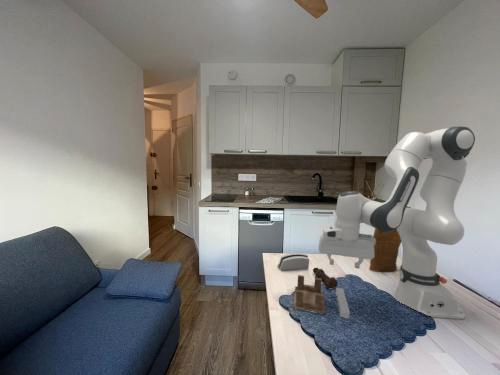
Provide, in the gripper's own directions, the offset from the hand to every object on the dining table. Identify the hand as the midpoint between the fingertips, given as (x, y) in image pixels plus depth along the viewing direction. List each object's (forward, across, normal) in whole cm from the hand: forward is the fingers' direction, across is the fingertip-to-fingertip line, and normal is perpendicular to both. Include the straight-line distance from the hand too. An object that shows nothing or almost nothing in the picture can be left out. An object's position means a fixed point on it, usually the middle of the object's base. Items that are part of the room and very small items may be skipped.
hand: (344, 265), depth 87 cm
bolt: (+17, +6, -18) cm, 25 cm away
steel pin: (+17, 0, 0) cm, 17 cm away
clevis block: (+17, +13, +1) cm, 21 cm away
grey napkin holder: (+17, +21, -26) cm, 37 cm away
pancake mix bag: (+16, -27, -39) cm, 50 cm away
